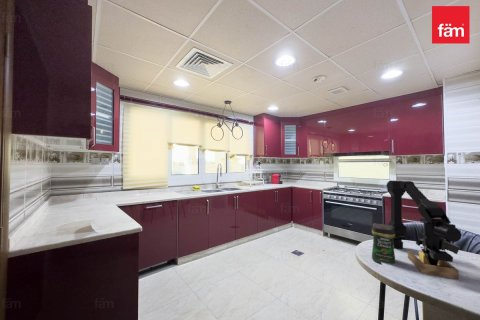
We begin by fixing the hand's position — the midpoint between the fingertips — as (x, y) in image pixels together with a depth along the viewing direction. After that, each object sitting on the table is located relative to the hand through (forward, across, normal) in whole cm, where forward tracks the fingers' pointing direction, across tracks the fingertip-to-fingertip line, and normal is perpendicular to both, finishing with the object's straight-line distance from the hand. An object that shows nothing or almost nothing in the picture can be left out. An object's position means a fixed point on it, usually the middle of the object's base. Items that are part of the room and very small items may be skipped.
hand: (433, 268), depth 90 cm
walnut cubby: (+2, +2, 0) cm, 3 cm away
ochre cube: (+1, +5, 0) cm, 5 cm away
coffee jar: (+2, +4, +18) cm, 18 cm away
